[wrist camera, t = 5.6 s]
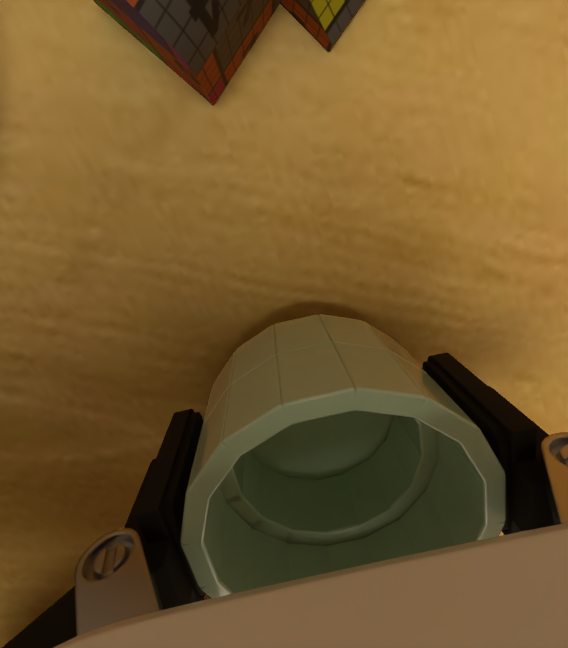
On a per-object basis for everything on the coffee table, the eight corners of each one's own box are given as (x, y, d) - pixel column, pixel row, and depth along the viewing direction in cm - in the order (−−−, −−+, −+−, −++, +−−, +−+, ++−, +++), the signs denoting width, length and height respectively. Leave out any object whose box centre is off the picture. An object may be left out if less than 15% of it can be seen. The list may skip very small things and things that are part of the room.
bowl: (240, 502, 14) (231, 663, 9) (184, 336, 11) (131, 437, 7) (421, 463, 14) (506, 604, 9) (403, 287, 11) (507, 353, 7)
